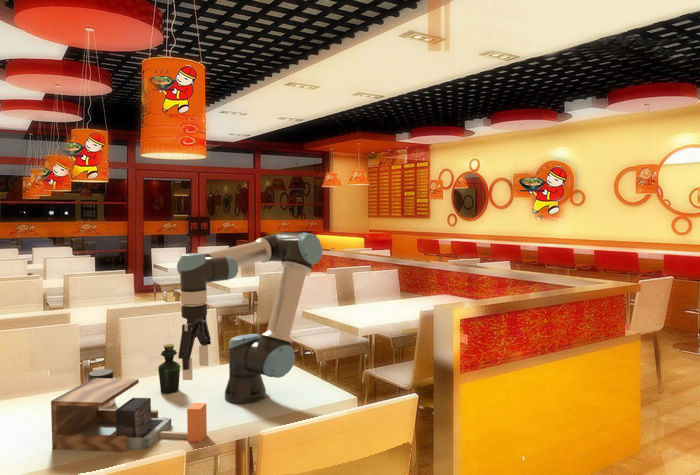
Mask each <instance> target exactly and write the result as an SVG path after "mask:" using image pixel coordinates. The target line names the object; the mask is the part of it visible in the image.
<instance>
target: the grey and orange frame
mask: <svg viewBox="0 0 700 475" xmlns="http://www.w3.org/2000/svg"><path fill="white" fill-rule="evenodd" d="M186 413H187V414H186V419H187V426H186V427H187V428H186V429H187V431H170V430H169V431H168V429H170V428H171V427H172V417H158V418H151V423H152V430H151V431H150V432H149V433H148V434H147V435H145V436H144V437H143V438H133V437H127V449H137V450H138V449H141V450H147V449H148V448H149V447H151V445H153V443H155V442H156V441H157V440H158V439H159V438H161V439H181V440H182V439H183V440H187V442H188V443H189V442H192V443H201V442H202V441H203V440H204V439H205V438H206V436H207V433H208V428H207V426H208V424H207V422H208V421H207V420H208V419H207V403H206V402H193V403H192V404H190V406H189V407H187V410H186ZM153 428H154V429H153ZM110 435H113V436H116V430H114V431H113V432H112V433H110ZM155 440H156V441H155ZM154 441H155V442H154Z"/></svg>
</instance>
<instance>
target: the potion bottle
mask: <svg viewBox="0 0 700 475" xmlns="http://www.w3.org/2000/svg"><path fill="white" fill-rule="evenodd" d="M174 346H175V344H172V343H168V344H164V345H163V349H164V350H162V351H161V353H160V356H161V357H163V358H164V361H163V362H162V363H160V364H159V366H158V367H157V370H158V377H159V378H158V379H159V387H160V393H161V394H163V395H171V394H176V393H177V392H178V391H179V390H180V378H181V374H180V373H181V365H180V363H179V362H177V361H174V358H175V356H176V355H177V354H178V353H177V350H176V349H174V348H175V347H174Z"/></svg>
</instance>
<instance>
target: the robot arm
mask: <svg viewBox="0 0 700 475" xmlns="http://www.w3.org/2000/svg"><path fill="white" fill-rule="evenodd" d="M322 255H323V247H322V243H321V241H320V239H319V238H318V236H317V235H315V234H314V233H311V232H310V233H309V232H278V233H274V234H269V235H268V236H267V235H266V236H262V237H259V238H257V239H256V240H255V241H253V242H249V243H244V244H240V245H236V246H232V247H231V246H230V247H228V248H227V247H226V248H221V249H218V250H213V251H208V252H205V253H200V252H196V253H193V252H192V253H184V254H182V255H181V256H180V258H179V260H178V262H177V264H176V269H177V272H178V274H179V279H180V280H179V282H180V294H179V296H180V299H181V300H180V301H181V308H180V311H181V312H180V314H181V317H182V318H183V319H186V323H183V324H181V334H180V335H181V336H180V341H179V342H180V344H179V350H178V355H177V356H178V359H181V365H182V367H181V368H182V371H181V373H182V380H183V381H192V380H193V357H192V356H191V355H192V352H193V348H194V343H195V339H196V338H197V341H198V342H199V344H200V345H198V357H199V358H198V359H199V360H198V361H199V366H200V367H202V366H203V367H205V366H207V367H208V366H209V346H210V345H212V341H211V335H210V331H209V327H208V323H207V321H208V320H207V315H208V304H207V302H208V294H207V290H208V289H207V283H213V282H223V281H228V280H232V279H234V278H236V276H237V275H238V273H239V267H243V266H246V265H249V264H254V263H258V262H260V263H268V262H281V266H282V267H283V271H282V275H281V278H280V281H279V285H278V289H277V293H276V295H275V300H274V304H273V307H272V311H271V315H270V319H269V321H268V325H267V329H266V331H265V332H263V333H261V334H258V333H248V334H241V335H237V336H236V335H235V336H234V337H231V338H230V340H229V342H228V344H229V345H228V369H229V370H228V371H229V374H228V375H229V377H228V381H227V384H226V387H225V390H224V399H225V401H227V402H229V403H233V404H249V403H250V404H252V403H256V402H258V400H259V401H261V400H263V399H264V398H265V397H266V396H267V394H266V393H267V389H266V386H265V383H264V379H263V378H262V376H265V377H269V378H276V379H279V378H283V377H285V375H287V374H289V372H290V371H291V370H292V368H293V366H294V364H295V361H296V355H295V350H294V348H293V347H292V345H293V341H292V338H291V332H292V328H293V325H294V321H295V317H296V314H297V309H298V306H299V302H300V298H301V295H302V292H303V287H304V283H305V279H306V275H307V274H309V273H310V272H312V269H313V266H314V265H316V264H318V263H319V262H320V261H321V259H322V257H323V256H322ZM265 395H266V396H265ZM262 398H263V399H262ZM260 399H261V400H260ZM255 401H256V402H255Z"/></svg>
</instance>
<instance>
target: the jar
mask: <svg viewBox="0 0 700 475" xmlns="http://www.w3.org/2000/svg"><path fill="white" fill-rule="evenodd" d="M87 375H88V378H87V381H89V380H91V379H93V378H110V379H116V378H115V376H114V370H113V369H111V368H103V369H95V370H92V371H90V372H88V374H87ZM115 403H116V398H114V399H113V400H111V401H110V402H108V403H107V404H105V405H104V406H102V407H99V408H100V409H109V408H111V407H112V406H113V405H114V404H115Z"/></svg>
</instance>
